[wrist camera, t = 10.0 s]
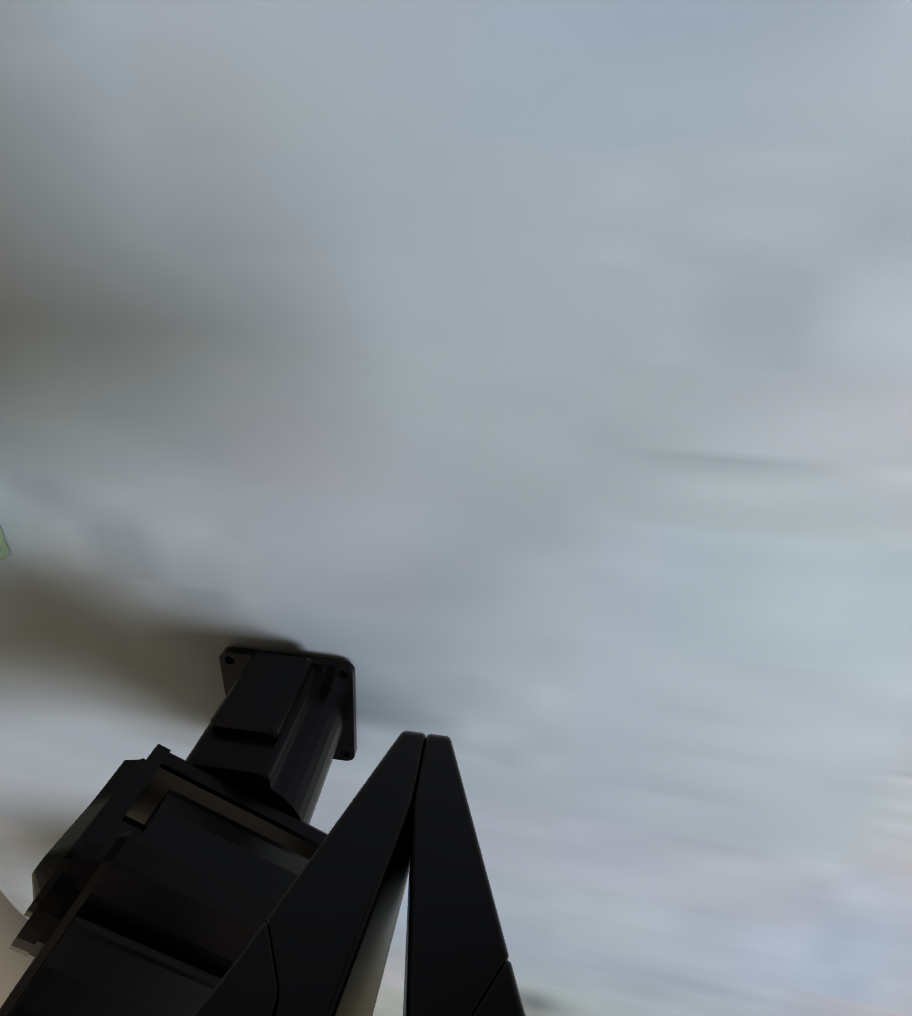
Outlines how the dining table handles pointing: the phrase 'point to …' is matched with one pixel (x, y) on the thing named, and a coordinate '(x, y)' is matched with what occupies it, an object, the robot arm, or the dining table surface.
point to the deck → (3, 546)
